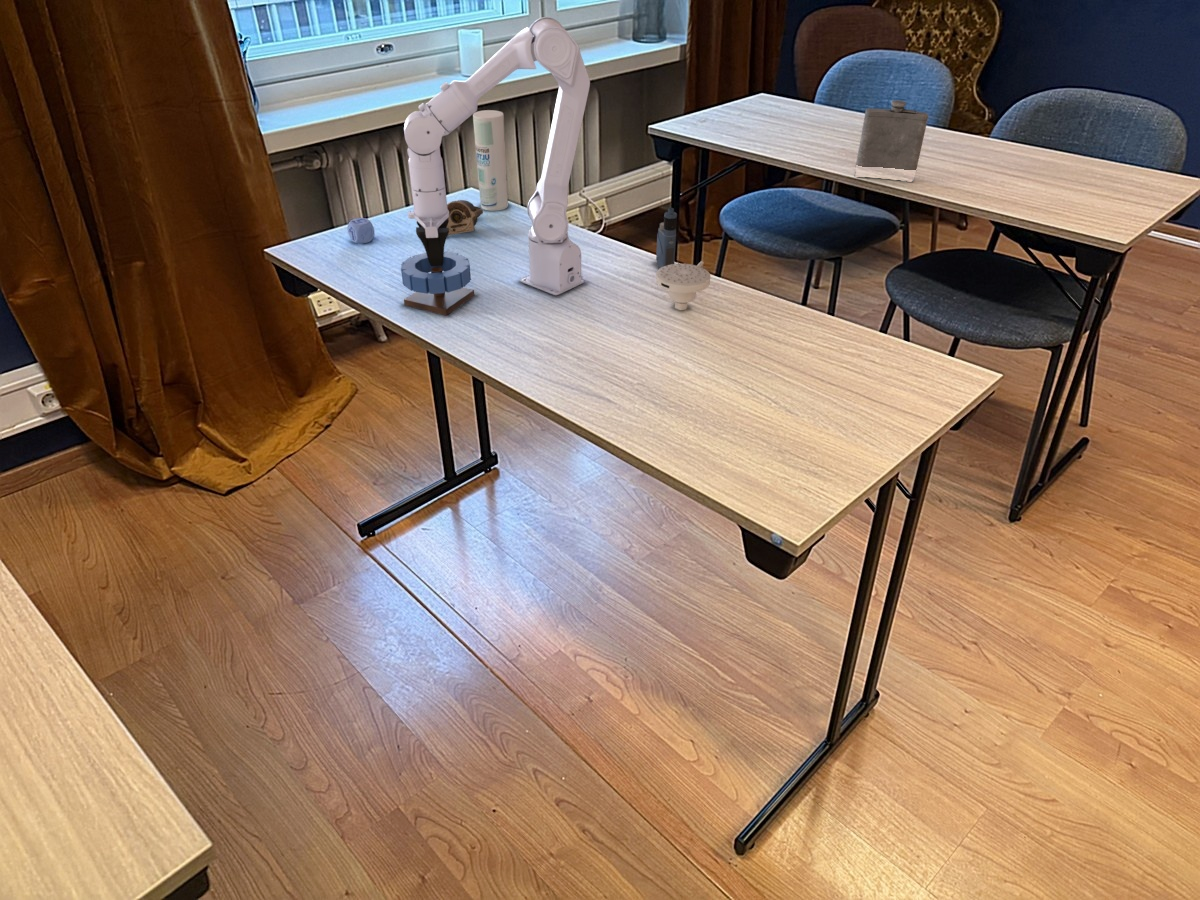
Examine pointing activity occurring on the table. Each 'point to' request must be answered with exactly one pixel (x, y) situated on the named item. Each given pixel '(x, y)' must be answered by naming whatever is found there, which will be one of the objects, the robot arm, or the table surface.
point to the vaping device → (666, 239)
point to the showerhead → (683, 282)
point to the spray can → (491, 159)
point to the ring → (434, 283)
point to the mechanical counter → (462, 216)
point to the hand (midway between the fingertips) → (436, 261)
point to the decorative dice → (360, 230)
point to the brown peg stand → (439, 299)
